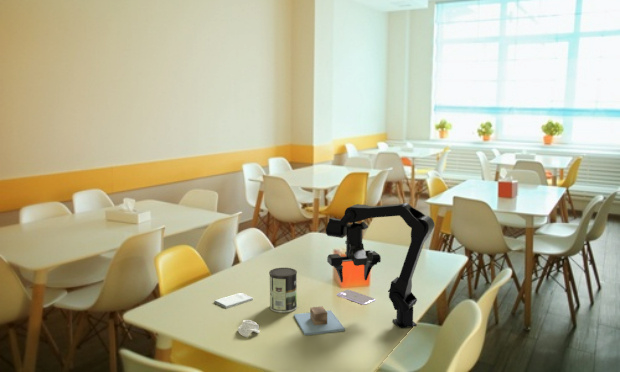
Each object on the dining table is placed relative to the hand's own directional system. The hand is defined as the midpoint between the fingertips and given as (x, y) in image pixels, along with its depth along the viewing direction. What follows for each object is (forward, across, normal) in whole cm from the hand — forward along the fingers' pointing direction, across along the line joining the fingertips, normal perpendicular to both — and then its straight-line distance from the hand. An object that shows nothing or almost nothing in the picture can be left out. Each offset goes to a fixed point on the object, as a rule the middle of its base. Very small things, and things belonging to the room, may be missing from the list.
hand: (353, 281), depth 190 cm
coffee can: (+12, -24, +11) cm, 29 cm away
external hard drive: (+13, -41, +22) cm, 48 cm away
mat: (+12, -15, -6) cm, 20 cm away
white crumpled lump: (+12, -40, -7) cm, 42 cm away
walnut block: (+11, -15, -6) cm, 20 cm away
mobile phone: (+13, +6, +14) cm, 20 cm away
